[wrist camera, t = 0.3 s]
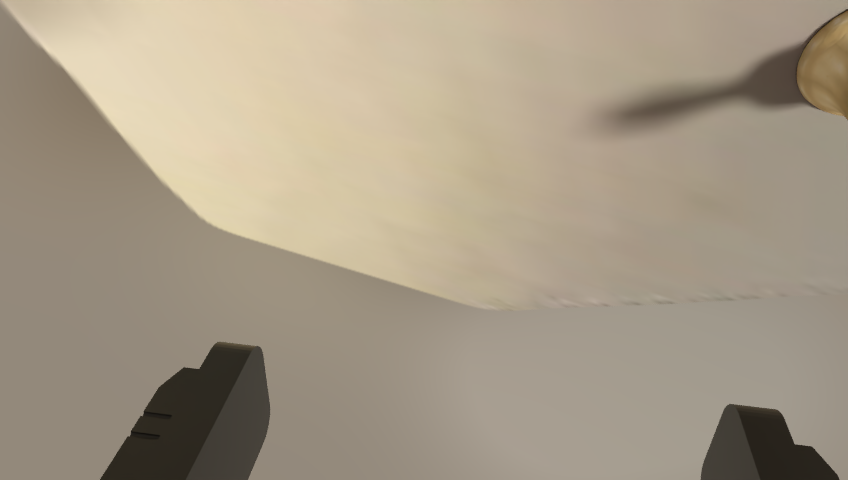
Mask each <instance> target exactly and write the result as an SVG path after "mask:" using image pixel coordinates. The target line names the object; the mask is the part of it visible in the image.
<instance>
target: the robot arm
mask: <svg viewBox="0 0 848 480" xmlns="http://www.w3.org/2000/svg"><path fill="white" fill-rule="evenodd" d="M269 417H270V403H269V396H268V389H267V381H266V374H265V366H264V358H263V352H262V349H261V348H260V347H258V346H251V345H242V344H234V343H226V342H217V343H216V344H215V345H214V346H213V347H212V349H211V350H210V352H209V354H208V355H207V357H206V359H205V360H204V362H203V364H202V365H201V367H200V369H192V368H183V369H181V370H180V371H179V372H177V373H176V374H175V375H174V376H172V377H171V378H170V379H169V380H167V381H166V382H165V383H164V384H163V385H161V386H160V387H159V388H158V390H157V391H156V393H155V394H154V396H153V398H152V399H151V401H150V402H149V404H148V406H147V407H146V409H145V410H144V414H143V416H140V418H139V419H138V421H137V423H136V424H135V426H134V428H133V429H132V430H131V435H130V437H127V438H126V440H125V441H124V443H123V445H122V446H121V448H120V449H119V451H118V452H117V454H116V456H115V457H114V459H113V461H112V462H111V464H110V465H109V466H108V468H107V470H106V471H105V473H104V474H103V476H102V477H101V479H100V480H248V478H249V476H250V473H251V471H252V469H253V466H254V464H255V461H256V459H257V457H258V454H259V452H260V449H261V447H262V445H263V442H264V440H265V437H266V434H267V429H268V425H269ZM701 480H839V477H838V475H837V474H836V473H835V472H834V471H833V470H832V468H831V467H830V466H829V465H828V464H827V463H826V462H825V461H824V460H823V458H822V457H821V456H820V455H819V454H818V453H817V452H816V451H815V449H814V448H813V447H811V446H803V445H795V444H794V442H793V439H792V437H791V434H790V432H789V430H788V427H787V425H786V422H785V419H784V417H783V415H782V414H781V413H780V412H779V411H778V410H775V409H767V408H759V407H751V406H742V405H734V404H729V405H727V406H726V408H725V409H724V411H723V414H722V416H721V419H720V421H719V424H718V426H717V429H716V432H715V434H714V437H713V439H712V442H711V444H710V447H709V450H708V452H707V455H706V458H705V460H704V463H703V467H702V473H701Z"/></svg>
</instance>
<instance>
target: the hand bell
mask: <svg viewBox="0 0 848 480" xmlns="http://www.w3.org/2000/svg"><path fill="white" fill-rule="evenodd" d="M797 83H798V87H799V89H800V91H801V93H802V95H803V96H804V98H805V99H806V100H807V101H809V102H810V103H811V104H813V105H814V106H816V107H817V108H819V109H821V110H823V111H825V112H828V113H831V114H835V115H841V116H845V117H846V119H847V120H848V10H847V11H846V12H844V13H842V14H840V15H839V16H837V17H836V18H834V19H833V20H832V21H830V22H829V23H828V24H826V25H825V26H824V27H823V28H822V29H821V30H820V31H819V32H818V33H817V34H816V35H815V36H814V37H813V38H812V39H811V41H810V42H809V43H808V45H807V46H806V47H805V49H804V51H803V53H802V55H801V57H800V60H799V63H798V67H797Z"/></svg>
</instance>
